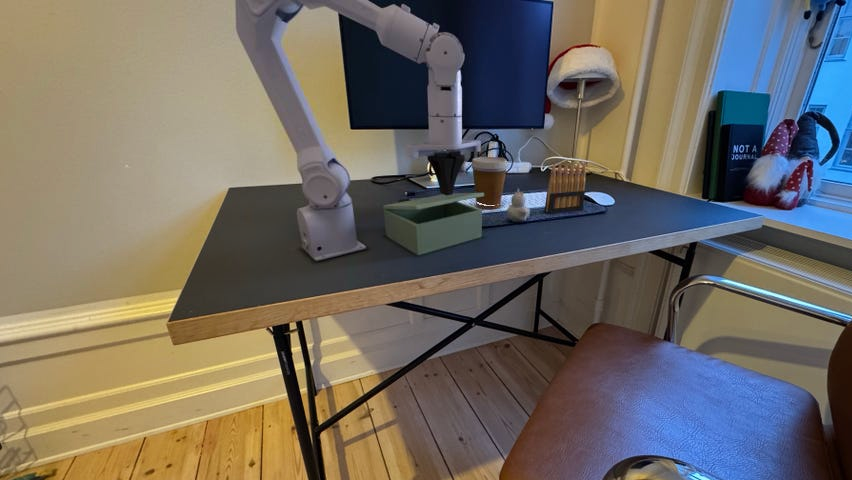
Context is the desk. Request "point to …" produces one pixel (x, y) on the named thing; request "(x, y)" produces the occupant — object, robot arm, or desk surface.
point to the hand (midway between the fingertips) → (446, 194)
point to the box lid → (432, 201)
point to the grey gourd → (518, 208)
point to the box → (433, 226)
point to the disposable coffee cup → (489, 180)
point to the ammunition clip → (566, 190)
